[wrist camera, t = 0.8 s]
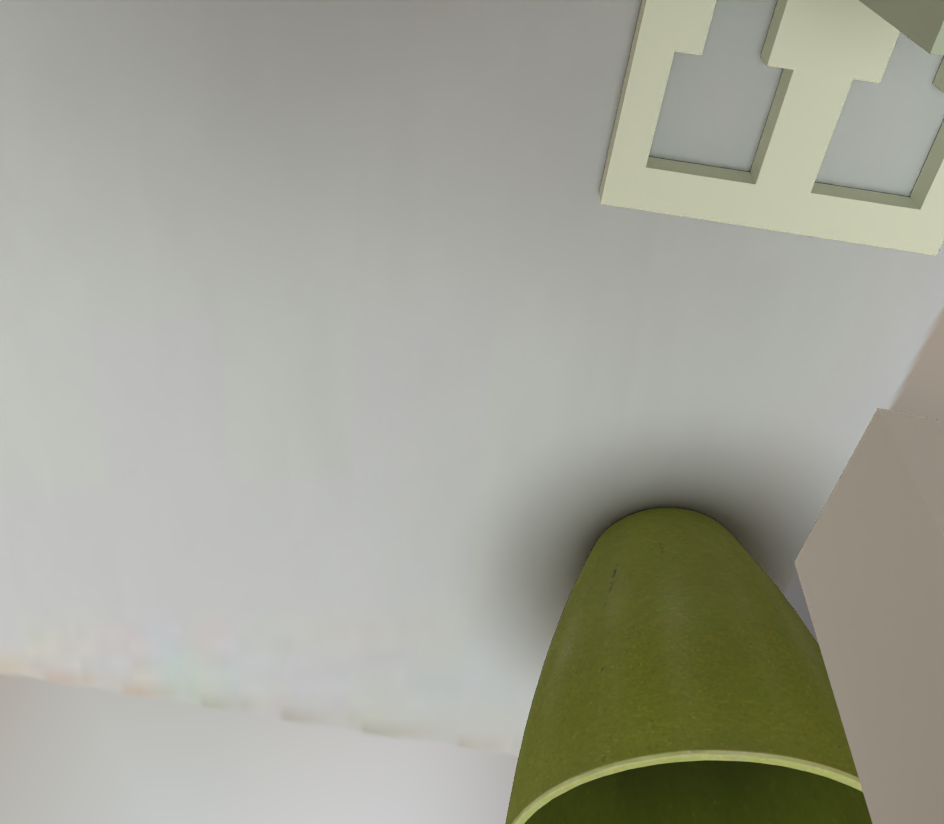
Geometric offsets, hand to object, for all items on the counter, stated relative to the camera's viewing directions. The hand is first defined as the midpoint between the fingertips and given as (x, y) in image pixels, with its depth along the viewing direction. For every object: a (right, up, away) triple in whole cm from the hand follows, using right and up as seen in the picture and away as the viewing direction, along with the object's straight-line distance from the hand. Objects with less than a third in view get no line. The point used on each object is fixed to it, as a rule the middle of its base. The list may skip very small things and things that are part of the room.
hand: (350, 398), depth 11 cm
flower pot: (+11, -7, +33) cm, 36 cm away
